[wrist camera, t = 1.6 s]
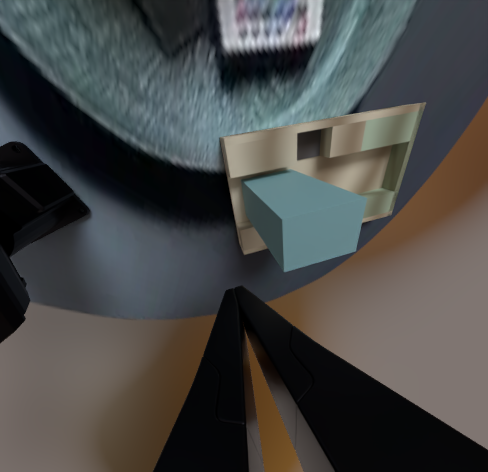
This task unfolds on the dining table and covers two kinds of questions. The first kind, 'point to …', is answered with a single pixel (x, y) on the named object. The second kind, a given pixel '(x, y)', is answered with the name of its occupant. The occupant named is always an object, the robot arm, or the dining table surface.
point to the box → (327, 159)
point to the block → (302, 217)
